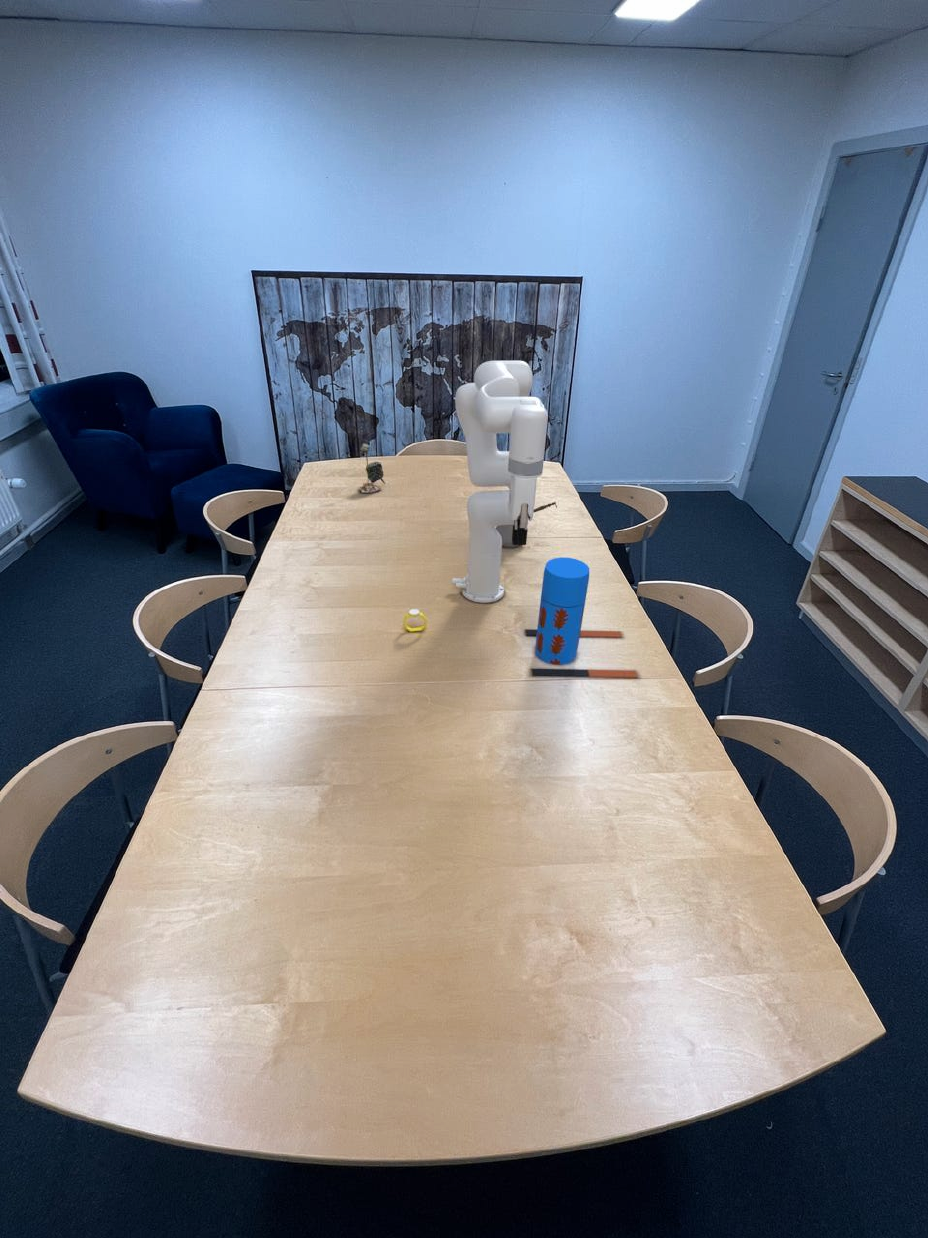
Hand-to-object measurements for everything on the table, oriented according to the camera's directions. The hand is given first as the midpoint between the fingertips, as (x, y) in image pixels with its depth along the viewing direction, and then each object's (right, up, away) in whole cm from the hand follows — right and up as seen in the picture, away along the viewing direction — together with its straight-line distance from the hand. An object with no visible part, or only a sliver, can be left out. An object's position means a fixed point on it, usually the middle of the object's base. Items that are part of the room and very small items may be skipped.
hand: (518, 542), depth 142 cm
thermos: (+11, -27, +17) cm, 34 cm away
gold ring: (-26, -21, +24) cm, 41 cm away
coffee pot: (+8, +9, +72) cm, 73 cm away
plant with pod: (-51, +35, +109) cm, 125 cm away
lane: (+17, -26, +17) cm, 36 cm away
